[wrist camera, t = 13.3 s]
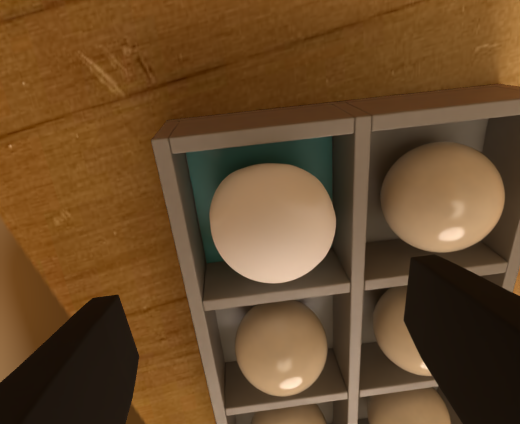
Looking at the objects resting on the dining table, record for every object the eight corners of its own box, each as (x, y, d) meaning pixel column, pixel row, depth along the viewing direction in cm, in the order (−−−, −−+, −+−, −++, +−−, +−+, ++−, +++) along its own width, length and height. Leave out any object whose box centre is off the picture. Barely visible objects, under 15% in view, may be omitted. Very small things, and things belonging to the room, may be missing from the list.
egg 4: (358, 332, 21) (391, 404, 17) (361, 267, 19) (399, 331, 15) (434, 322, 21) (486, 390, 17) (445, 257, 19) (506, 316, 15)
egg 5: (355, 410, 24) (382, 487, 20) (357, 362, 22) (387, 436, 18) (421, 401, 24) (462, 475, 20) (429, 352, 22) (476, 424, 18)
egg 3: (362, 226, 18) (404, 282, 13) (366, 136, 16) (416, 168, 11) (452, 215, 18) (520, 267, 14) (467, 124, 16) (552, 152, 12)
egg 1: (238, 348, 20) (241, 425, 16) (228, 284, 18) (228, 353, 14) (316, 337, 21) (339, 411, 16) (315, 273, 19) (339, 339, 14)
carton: (231, 435, 25) (231, 492, 21) (166, 119, 15) (150, 139, 12) (437, 406, 25) (467, 458, 22) (499, 83, 16) (568, 93, 12)
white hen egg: (337, 171, 16) (380, 220, 11) (288, 254, 18) (309, 326, 13) (238, 125, 15) (243, 160, 10) (195, 219, 16) (183, 285, 12)
